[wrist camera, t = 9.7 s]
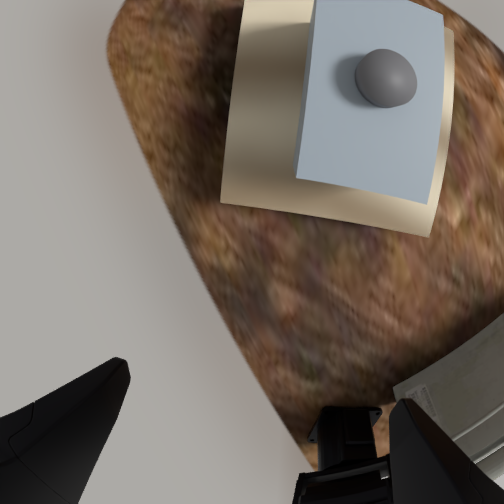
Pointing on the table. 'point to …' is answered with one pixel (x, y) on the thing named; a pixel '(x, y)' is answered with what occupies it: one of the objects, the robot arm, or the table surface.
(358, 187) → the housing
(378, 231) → the table surface
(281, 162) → the stand
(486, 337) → the geiger counter
